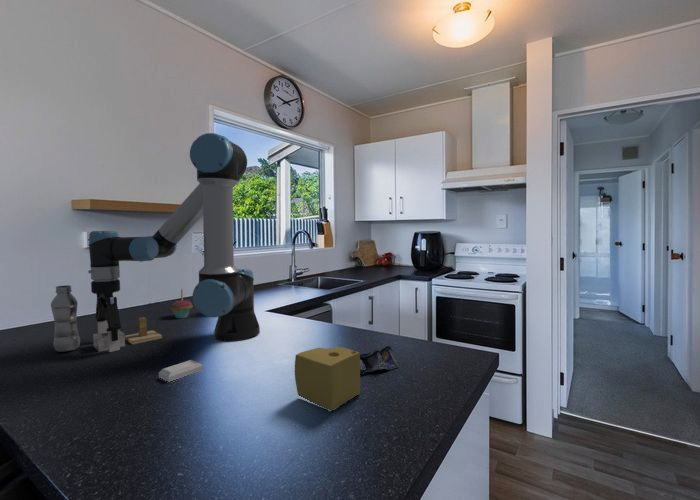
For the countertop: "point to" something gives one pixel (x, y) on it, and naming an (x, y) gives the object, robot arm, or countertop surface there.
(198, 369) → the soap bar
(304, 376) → the cheese
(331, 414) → the countertop surface
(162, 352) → the countertop surface
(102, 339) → the grey square frame
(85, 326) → the countertop surface
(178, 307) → the cupcake
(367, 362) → the snack package
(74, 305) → the plastic bottle
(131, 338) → the tan square plate
